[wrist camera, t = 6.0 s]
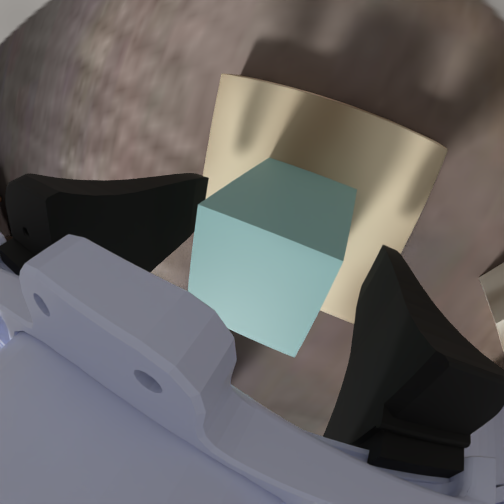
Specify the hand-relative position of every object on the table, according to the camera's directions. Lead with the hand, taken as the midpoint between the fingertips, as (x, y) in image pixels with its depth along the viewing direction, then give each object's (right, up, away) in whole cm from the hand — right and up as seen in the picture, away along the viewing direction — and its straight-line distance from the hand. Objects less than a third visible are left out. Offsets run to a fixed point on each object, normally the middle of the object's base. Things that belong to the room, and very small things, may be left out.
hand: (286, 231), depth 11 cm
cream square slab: (+2, +2, +4) cm, 4 cm away
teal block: (+1, +1, +2) cm, 2 cm away
